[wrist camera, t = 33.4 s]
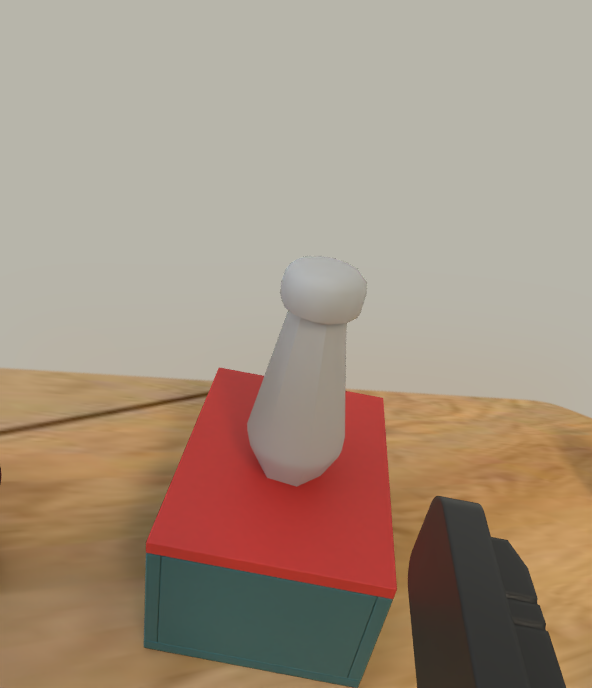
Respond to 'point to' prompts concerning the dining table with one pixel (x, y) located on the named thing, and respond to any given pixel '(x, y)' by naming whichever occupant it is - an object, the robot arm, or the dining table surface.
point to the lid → (281, 500)
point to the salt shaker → (307, 372)
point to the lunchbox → (260, 620)
